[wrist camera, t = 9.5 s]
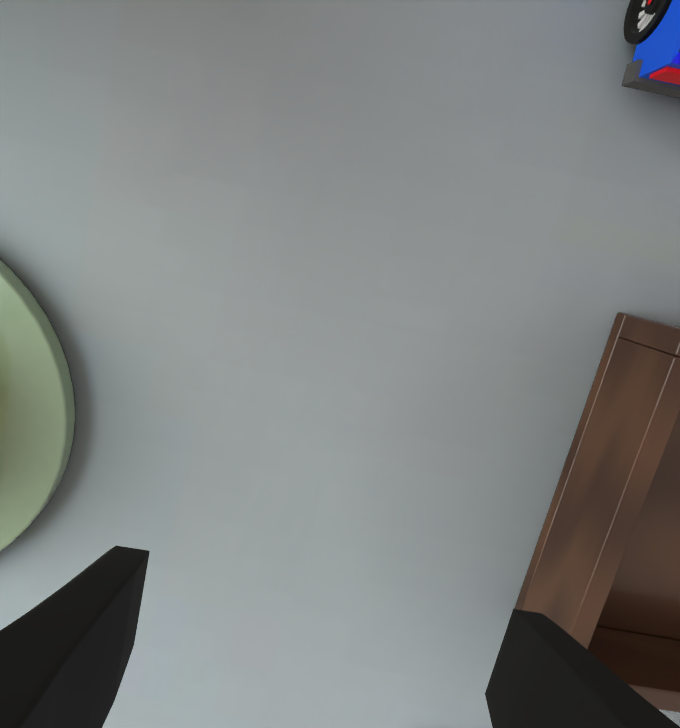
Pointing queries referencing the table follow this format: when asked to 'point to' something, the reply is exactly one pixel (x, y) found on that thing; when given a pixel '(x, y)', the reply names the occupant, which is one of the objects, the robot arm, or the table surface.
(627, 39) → the toy car
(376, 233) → the table surface
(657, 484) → the box
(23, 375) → the plate
